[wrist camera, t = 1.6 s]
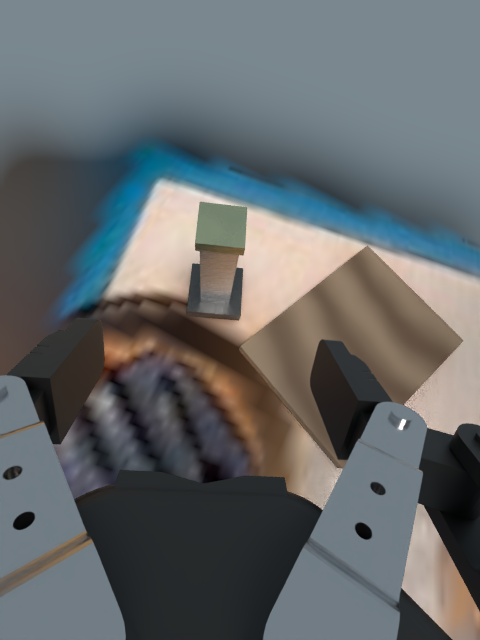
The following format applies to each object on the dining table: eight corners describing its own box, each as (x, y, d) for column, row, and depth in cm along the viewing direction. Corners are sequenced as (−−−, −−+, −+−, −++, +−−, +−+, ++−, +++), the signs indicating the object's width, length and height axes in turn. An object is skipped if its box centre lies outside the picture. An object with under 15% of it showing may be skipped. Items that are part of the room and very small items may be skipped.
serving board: (361, 252, 40) (367, 245, 39) (453, 344, 37) (463, 340, 36) (238, 349, 34) (240, 346, 33) (336, 467, 32) (343, 468, 30)
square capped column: (192, 270, 37) (187, 189, 25) (241, 274, 37) (260, 198, 25) (187, 316, 35) (179, 253, 23) (238, 320, 35) (258, 261, 23)
